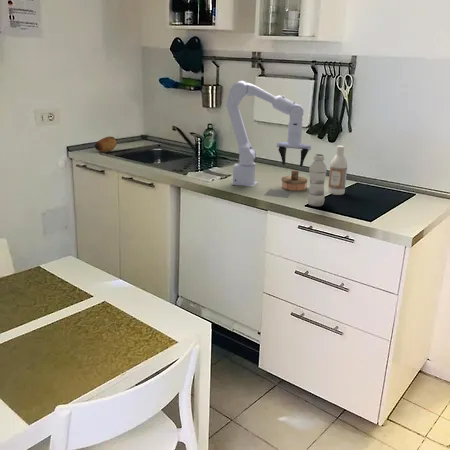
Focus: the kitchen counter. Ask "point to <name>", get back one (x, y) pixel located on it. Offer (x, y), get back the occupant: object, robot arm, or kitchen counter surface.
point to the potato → (106, 144)
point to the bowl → (294, 186)
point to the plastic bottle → (317, 181)
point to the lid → (294, 178)
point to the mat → (278, 193)
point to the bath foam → (338, 173)
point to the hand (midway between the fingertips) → (292, 165)
